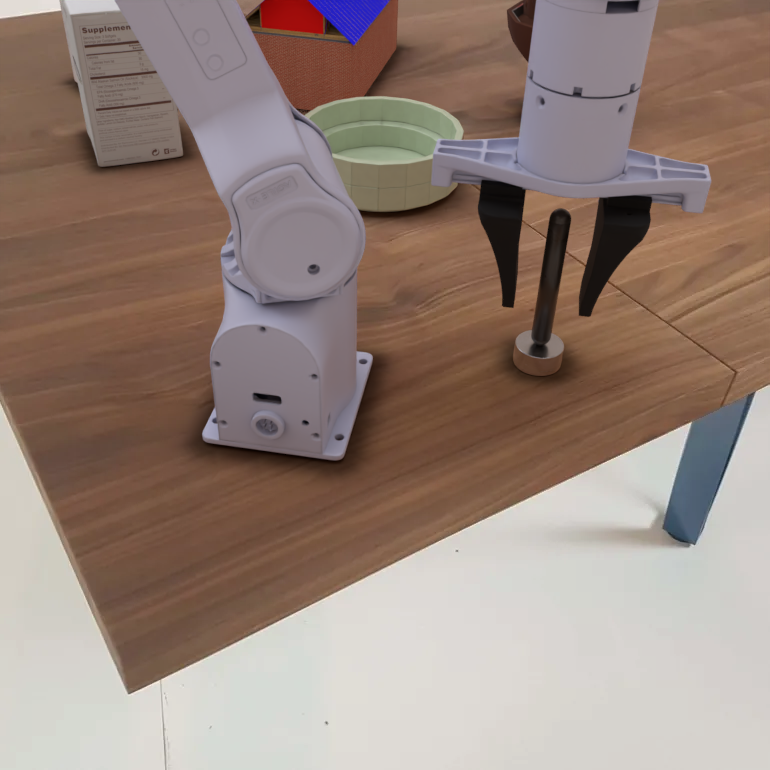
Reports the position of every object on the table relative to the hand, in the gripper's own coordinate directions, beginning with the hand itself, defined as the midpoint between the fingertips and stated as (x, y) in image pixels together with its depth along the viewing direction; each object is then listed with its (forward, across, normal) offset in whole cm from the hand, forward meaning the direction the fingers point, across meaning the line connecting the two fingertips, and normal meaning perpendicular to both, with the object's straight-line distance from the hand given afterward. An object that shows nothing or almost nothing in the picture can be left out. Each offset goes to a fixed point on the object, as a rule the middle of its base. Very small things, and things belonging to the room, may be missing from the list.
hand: (546, 302), depth 55 cm
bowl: (+4, +14, -22) cm, 27 cm away
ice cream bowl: (+5, 0, -39) cm, 39 cm away
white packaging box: (+5, +36, -24) cm, 44 cm away
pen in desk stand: (+4, 0, 0) cm, 4 cm away
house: (+5, +24, -45) cm, 51 cm away
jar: (+5, +43, -38) cm, 58 cm away
